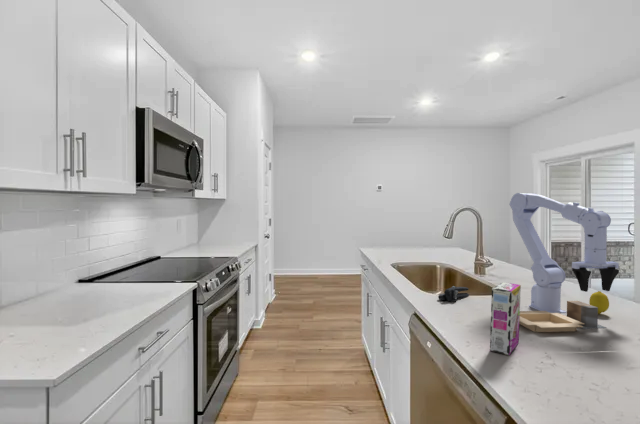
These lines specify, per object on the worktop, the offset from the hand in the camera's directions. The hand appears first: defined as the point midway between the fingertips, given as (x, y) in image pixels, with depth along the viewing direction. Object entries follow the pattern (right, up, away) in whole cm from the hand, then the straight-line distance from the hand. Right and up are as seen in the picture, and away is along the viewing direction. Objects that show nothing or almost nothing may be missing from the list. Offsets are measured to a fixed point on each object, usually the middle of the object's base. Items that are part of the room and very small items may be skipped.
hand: (595, 290), depth 119 cm
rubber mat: (-5, -10, -1) cm, 12 cm away
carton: (-19, -10, -4) cm, 22 cm away
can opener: (-33, -10, +30) cm, 46 cm away
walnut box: (-5, -10, -1) cm, 11 cm away
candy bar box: (-39, -11, -21) cm, 46 cm away
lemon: (+9, -11, +10) cm, 17 cm away
